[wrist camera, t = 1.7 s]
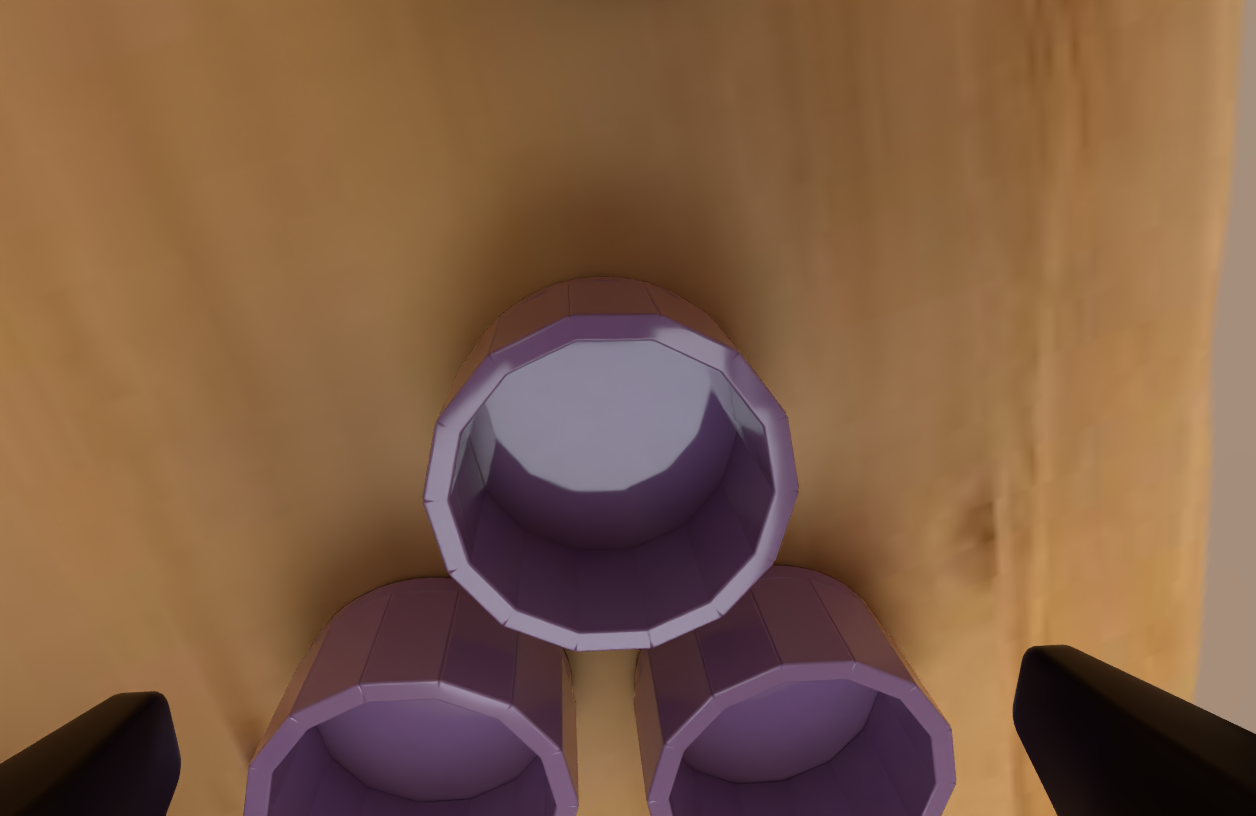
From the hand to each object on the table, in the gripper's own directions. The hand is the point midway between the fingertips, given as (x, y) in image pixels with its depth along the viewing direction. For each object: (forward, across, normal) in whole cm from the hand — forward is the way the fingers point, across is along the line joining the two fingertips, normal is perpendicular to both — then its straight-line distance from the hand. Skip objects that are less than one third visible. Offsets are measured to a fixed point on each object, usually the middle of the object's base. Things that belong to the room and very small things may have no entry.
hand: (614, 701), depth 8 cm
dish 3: (+9, -4, +7) cm, 12 cm away
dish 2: (+9, 0, 0) cm, 9 cm away
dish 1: (+9, +4, +7) cm, 12 cm away
